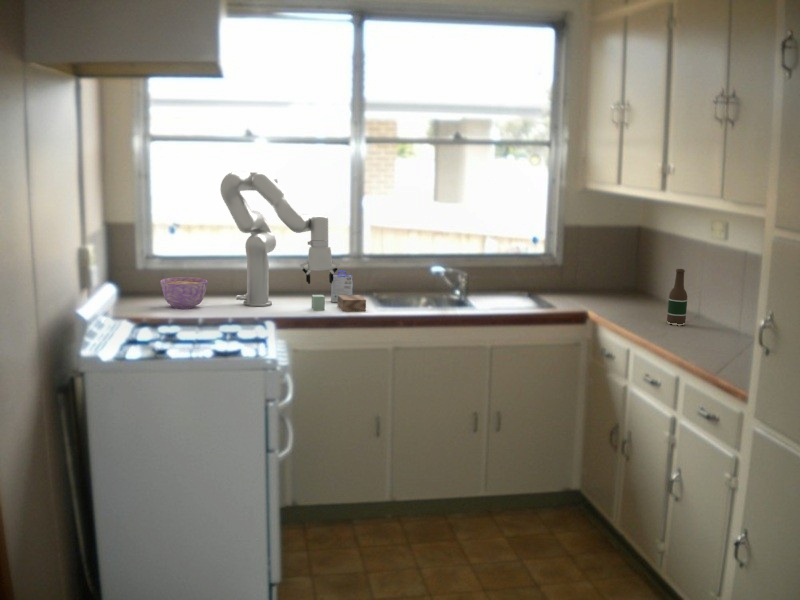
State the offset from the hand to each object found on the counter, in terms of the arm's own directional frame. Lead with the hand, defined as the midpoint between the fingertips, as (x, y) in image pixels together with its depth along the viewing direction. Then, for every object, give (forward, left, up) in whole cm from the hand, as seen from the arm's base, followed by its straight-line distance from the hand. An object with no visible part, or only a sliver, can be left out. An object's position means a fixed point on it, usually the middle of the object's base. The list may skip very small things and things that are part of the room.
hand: (319, 283), depth 394 cm
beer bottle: (+147, -46, -12) cm, 155 cm away
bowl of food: (-58, +9, -12) cm, 59 cm away
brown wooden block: (+14, 0, -12) cm, 19 cm away
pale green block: (-1, 0, -12) cm, 12 cm away
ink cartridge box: (+13, +19, -12) cm, 26 cm away
